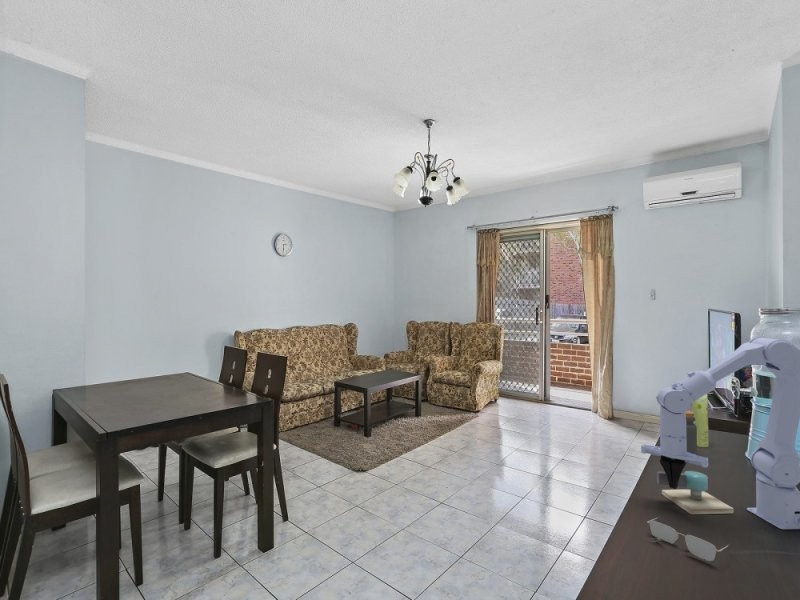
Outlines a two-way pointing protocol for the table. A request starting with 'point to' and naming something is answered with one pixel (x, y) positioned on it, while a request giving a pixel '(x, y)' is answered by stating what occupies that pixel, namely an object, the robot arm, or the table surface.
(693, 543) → the eyeglasses
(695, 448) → the bottle
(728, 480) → the table surface
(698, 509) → the post block
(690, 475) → the teal grey handled piece
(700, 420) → the tube
